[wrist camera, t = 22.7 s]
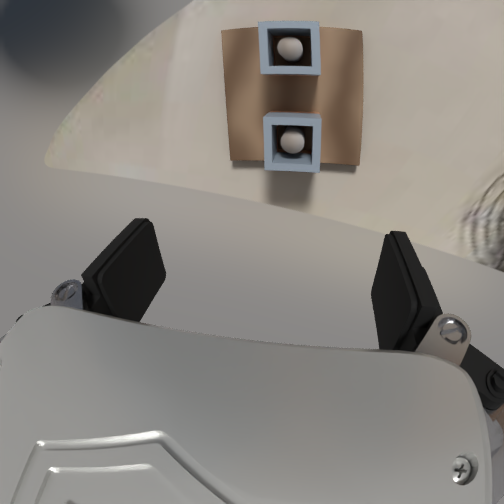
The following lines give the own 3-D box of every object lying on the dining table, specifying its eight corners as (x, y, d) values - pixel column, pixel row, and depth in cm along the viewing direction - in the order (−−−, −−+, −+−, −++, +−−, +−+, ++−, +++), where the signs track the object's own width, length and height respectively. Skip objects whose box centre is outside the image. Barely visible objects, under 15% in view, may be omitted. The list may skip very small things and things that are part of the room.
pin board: (359, 32, 23) (371, 23, 18) (357, 162, 33) (366, 179, 27) (224, 32, 26) (207, 23, 21) (233, 157, 35) (219, 173, 30)
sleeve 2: (319, 112, 29) (321, 118, 24) (317, 157, 32) (319, 172, 27) (270, 110, 30) (263, 116, 25) (271, 155, 33) (264, 170, 28)
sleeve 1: (316, 32, 23) (318, 21, 18) (318, 76, 26) (320, 74, 21) (266, 31, 24) (257, 21, 19) (268, 75, 27) (260, 74, 22)
